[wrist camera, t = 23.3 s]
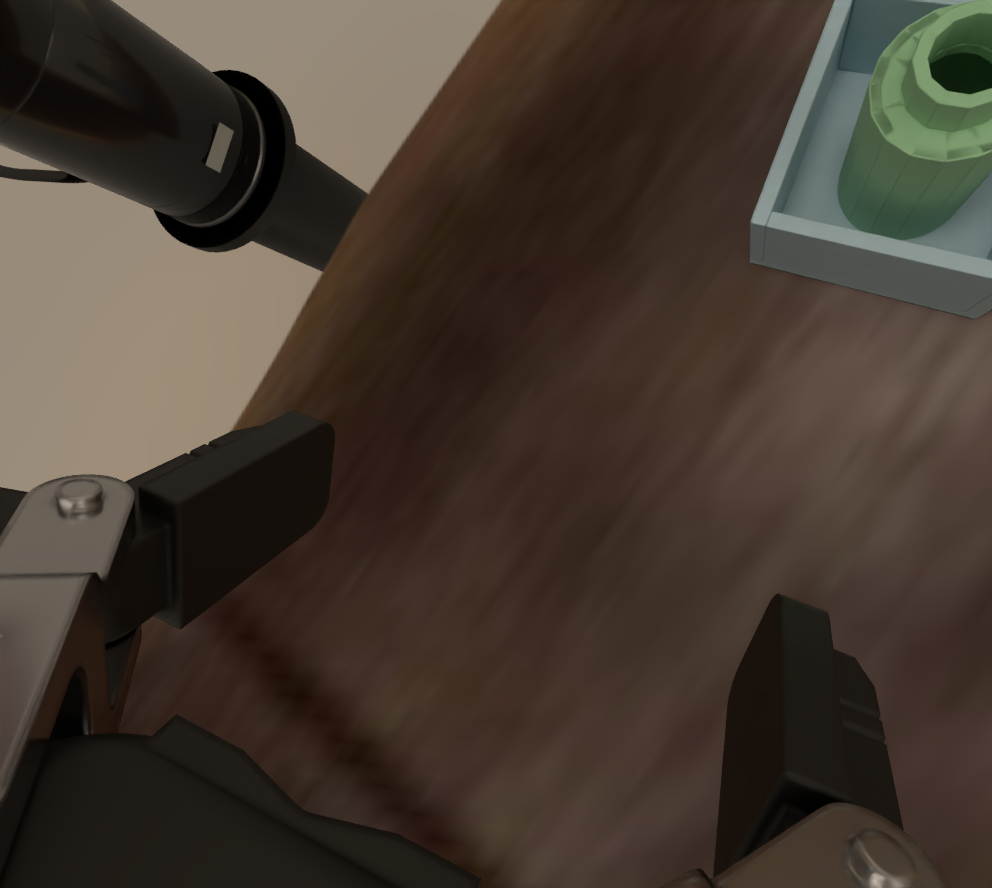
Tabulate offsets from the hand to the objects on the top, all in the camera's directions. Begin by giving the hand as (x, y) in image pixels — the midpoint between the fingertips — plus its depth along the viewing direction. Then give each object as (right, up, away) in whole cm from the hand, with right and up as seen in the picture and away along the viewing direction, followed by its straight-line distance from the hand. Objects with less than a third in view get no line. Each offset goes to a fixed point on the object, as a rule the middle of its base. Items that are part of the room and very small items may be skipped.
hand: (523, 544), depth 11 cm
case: (+17, +13, +17) cm, 27 cm away
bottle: (+16, +13, +16) cm, 26 cm away
